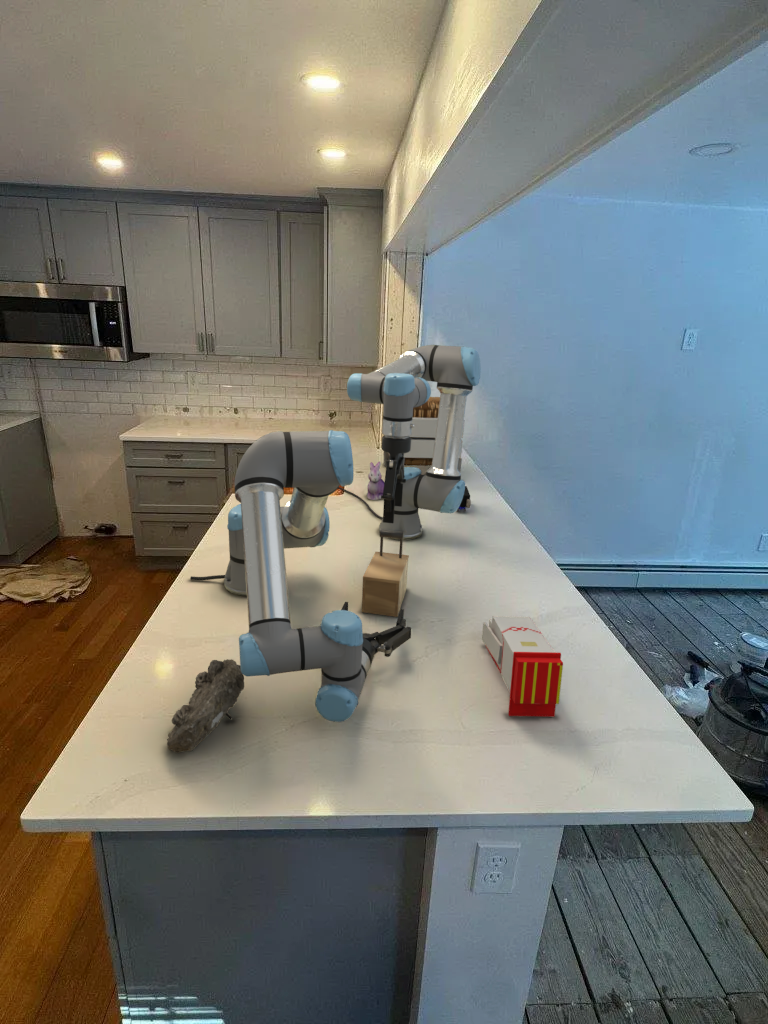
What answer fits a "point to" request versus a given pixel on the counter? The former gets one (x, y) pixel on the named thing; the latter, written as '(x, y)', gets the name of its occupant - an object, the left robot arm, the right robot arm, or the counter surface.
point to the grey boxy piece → (424, 435)
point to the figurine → (375, 482)
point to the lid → (387, 561)
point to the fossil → (206, 705)
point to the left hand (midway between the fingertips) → (374, 610)
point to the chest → (383, 596)
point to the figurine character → (465, 500)
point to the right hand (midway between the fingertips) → (392, 513)
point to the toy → (525, 665)
